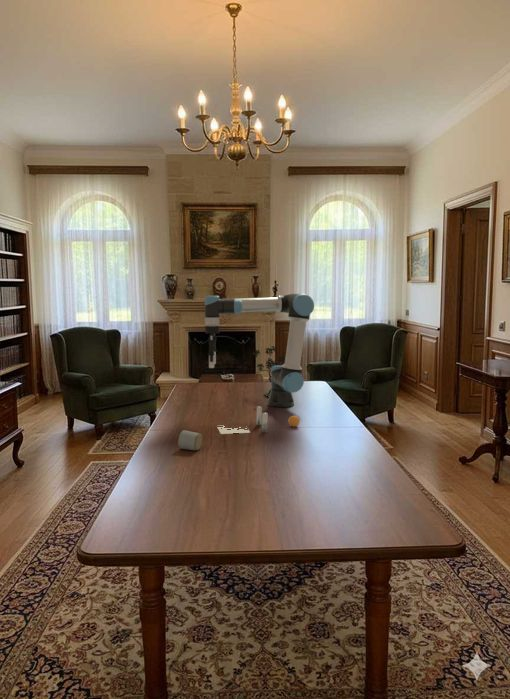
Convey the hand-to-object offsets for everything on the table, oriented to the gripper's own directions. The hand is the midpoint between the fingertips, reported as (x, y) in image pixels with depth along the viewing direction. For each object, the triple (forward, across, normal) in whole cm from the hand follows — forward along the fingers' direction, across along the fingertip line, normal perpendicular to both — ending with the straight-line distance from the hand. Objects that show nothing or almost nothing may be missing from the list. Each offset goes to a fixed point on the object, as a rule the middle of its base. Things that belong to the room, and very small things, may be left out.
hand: (212, 365), depth 263 cm
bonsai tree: (+27, -46, +34) cm, 63 cm away
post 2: (+26, +31, +26) cm, 49 cm away
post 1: (+26, +19, +24) cm, 40 cm away
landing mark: (+26, +28, +11) cm, 40 cm away
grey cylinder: (+26, +56, -5) cm, 62 cm away
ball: (+24, +22, +41) cm, 52 cm away
